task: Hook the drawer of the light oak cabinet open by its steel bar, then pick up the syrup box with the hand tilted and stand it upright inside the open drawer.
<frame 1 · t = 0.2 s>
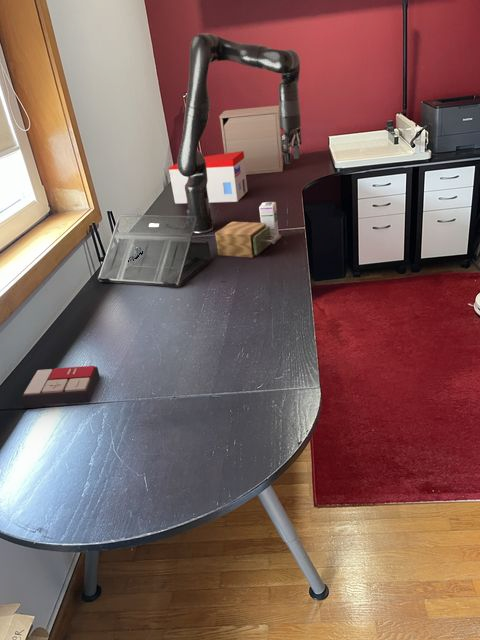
hand: (292, 160, 190), 29 cm above the table, tool pointing down, fingers open, 8 cm apart
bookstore: (212, 197, 273), on the table
cabinet 2: (255, 169, 326), on the table
drawer: (254, 239, 193), point 4 cm above the table, slide at 0.5 cm
cabinet: (243, 250, 197), on the table
syrup box: (271, 240, 205), on the table
laptop stand: (156, 271, 187), on the table
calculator: (65, 392, 123), on the table
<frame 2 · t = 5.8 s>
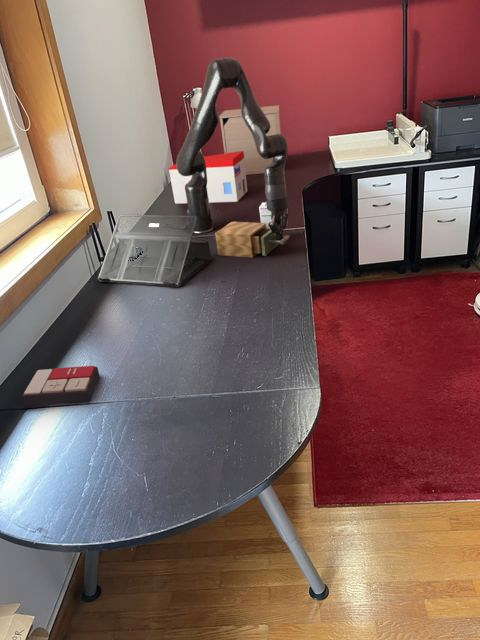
hand: (280, 242, 188), 4 cm above the table, tool pointing down, fingers closed
drawer: (262, 240, 191), point 4 cm above the table, slide at 3.9 cm, touching gripper
everything else where it was.
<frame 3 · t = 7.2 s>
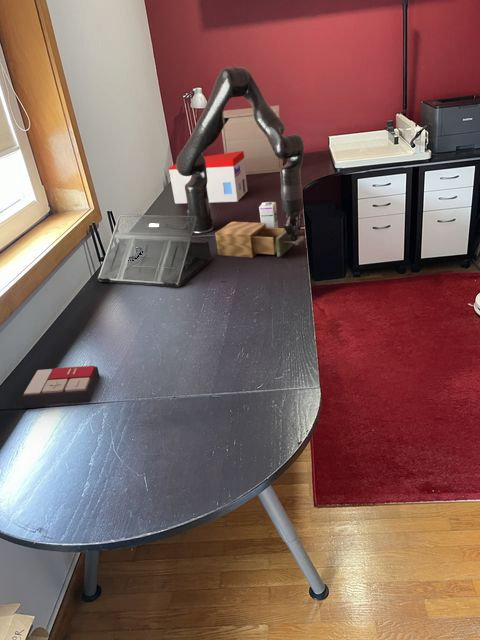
hand: (294, 243, 186), 4 cm above the table, tool pointing down, fingers closed
drawer: (276, 241, 189), point 4 cm above the table, slide at 9.8 cm, touching gripper
everything else where it was.
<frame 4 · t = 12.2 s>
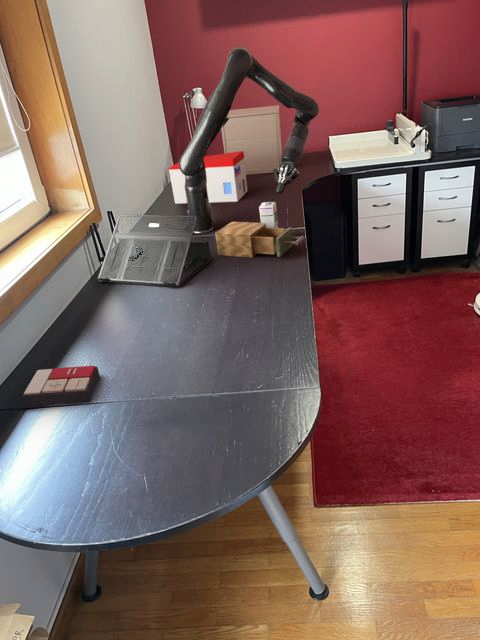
hand: (278, 193, 201), 17 cm above the table, tool tilted 35°, fingers closed
drawer: (276, 241, 189), point 4 cm above the table, slide at 9.8 cm
everything else where it was.
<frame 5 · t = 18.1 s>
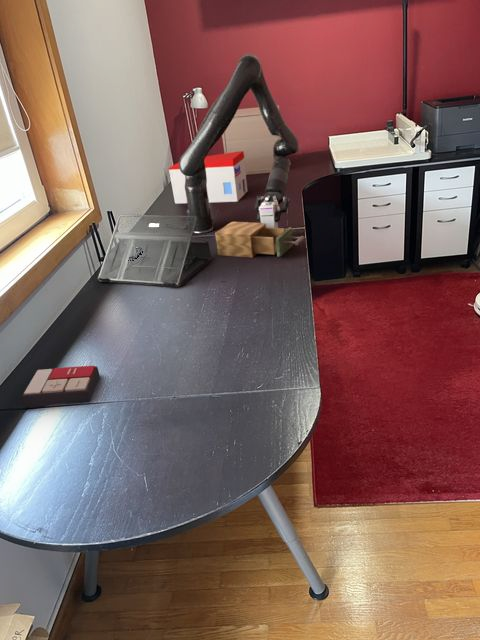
hand: (267, 220, 199), 8 cm above the table, tool tilted 45°, fingers closed on syrup box, 6 cm apart
syrup box: (271, 240, 205), on the table, touching gripper
everything else where it was.
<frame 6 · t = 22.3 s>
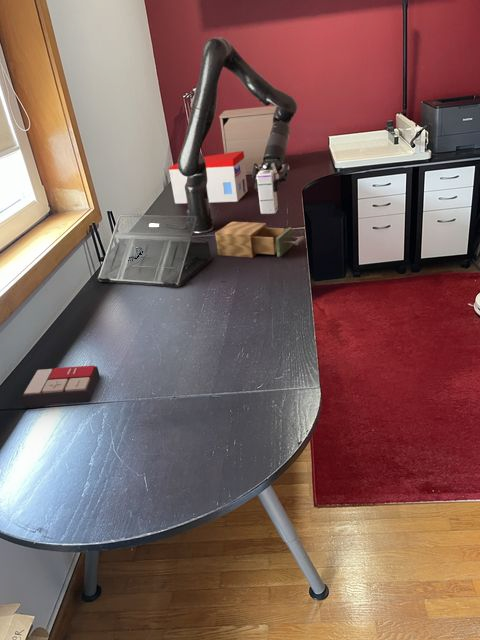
hand: (265, 190, 184), 22 cm above the table, tool tilted 45°, fingers closed on syrup box, 6 cm apart
syrup box: (269, 212, 189), point 14 cm above the table, touching gripper
everything else where it was.
when the fingers open (10 cm above the table, at t = 26.8 s): syrup box stays where it is, resting on drawer.
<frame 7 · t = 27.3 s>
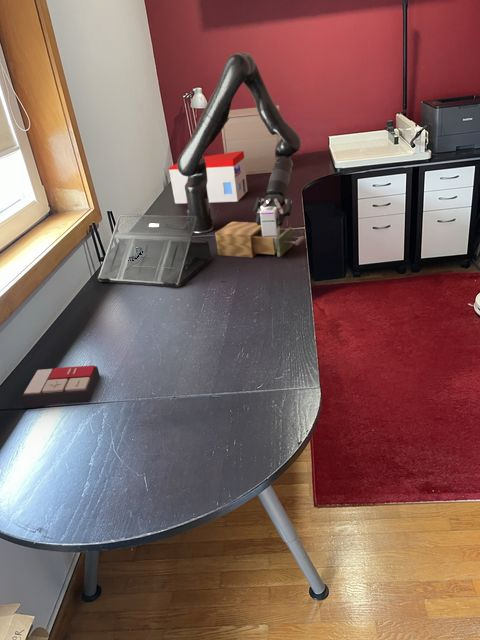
hand: (268, 224, 185), 11 cm above the table, tool tilted 45°, fingers open, 8 cm apart
drawer: (277, 241, 189), point 4 cm above the table, slide at 9.9 cm, touching syrup box
syrup box: (272, 247, 191), point 2 cm above the table, touching drawer
everything else where it was.
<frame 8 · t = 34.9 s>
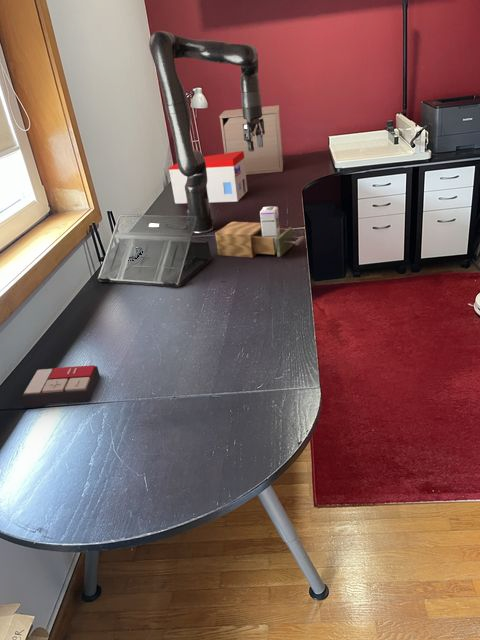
hand: (255, 149, 203), 32 cm above the table, tool pointing down, fingers open, 8 cm apart
nothing on the table moved.
at the end: drawer slide at 9.9 cm; syrup box inside the target area in the drawer (0.1 cm from its centre), point 1.9 cm above the cabinet's base; syrup box tilted 0° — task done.
